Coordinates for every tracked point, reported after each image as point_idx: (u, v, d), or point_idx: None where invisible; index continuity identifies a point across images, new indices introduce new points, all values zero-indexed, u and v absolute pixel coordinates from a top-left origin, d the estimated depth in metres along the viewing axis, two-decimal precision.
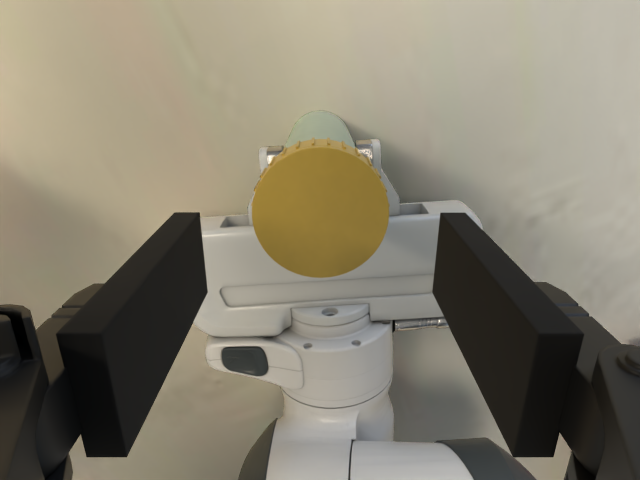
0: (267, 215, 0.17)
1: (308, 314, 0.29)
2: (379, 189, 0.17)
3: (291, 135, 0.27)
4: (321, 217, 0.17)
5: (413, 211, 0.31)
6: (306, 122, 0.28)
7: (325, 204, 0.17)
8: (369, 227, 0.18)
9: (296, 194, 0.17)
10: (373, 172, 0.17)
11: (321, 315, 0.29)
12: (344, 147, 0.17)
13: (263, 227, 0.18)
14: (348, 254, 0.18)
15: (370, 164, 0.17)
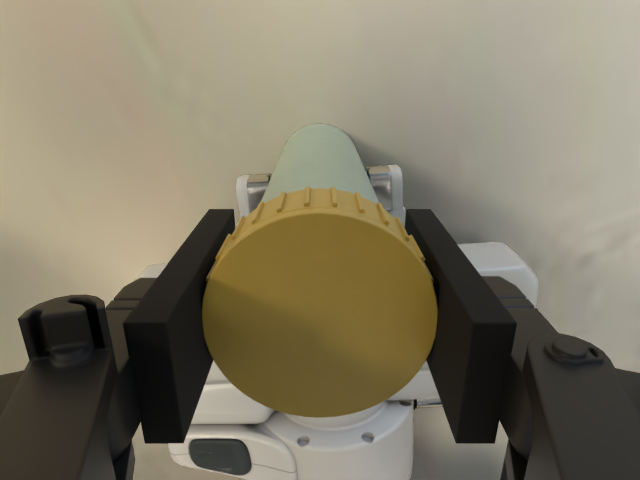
0: (228, 324, 0.10)
1: None
2: (422, 282, 0.10)
3: (280, 161, 0.20)
4: (321, 327, 0.10)
5: None
6: (301, 142, 0.21)
7: (328, 306, 0.10)
8: (403, 342, 0.10)
9: (277, 291, 0.10)
10: (413, 255, 0.10)
11: None
12: (361, 209, 0.10)
13: (222, 342, 0.10)
14: (366, 384, 0.11)
15: (406, 238, 0.10)
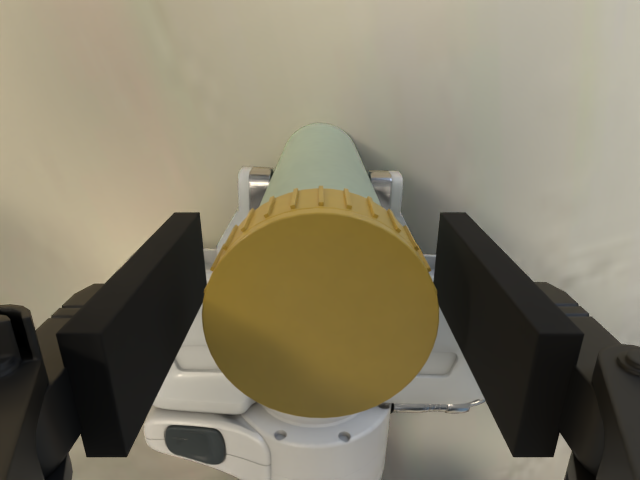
0: (309, 398, 0.11)
1: None
2: (281, 227, 0.09)
3: (284, 156, 0.20)
4: (322, 324, 0.10)
5: (432, 266, 0.24)
6: (306, 140, 0.21)
7: (300, 316, 0.10)
8: (352, 249, 0.09)
9: (278, 356, 0.10)
10: (248, 235, 0.09)
11: None
12: (212, 268, 0.10)
13: (329, 406, 0.11)
14: (400, 288, 0.10)
15: (242, 230, 0.10)
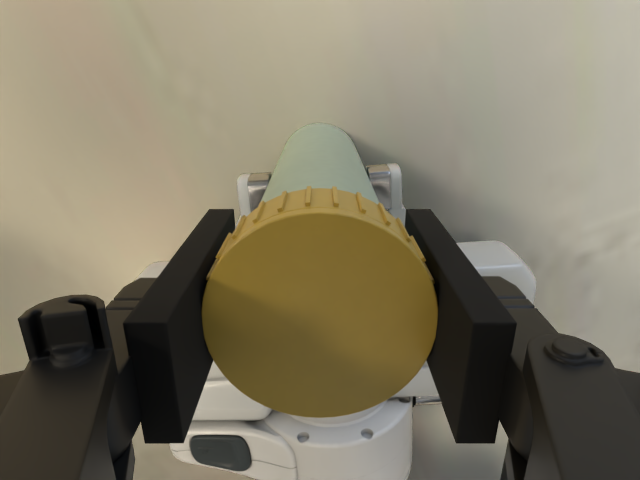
0: (317, 398, 0.11)
1: None
2: (269, 231, 0.09)
3: (280, 160, 0.20)
4: (321, 324, 0.10)
5: None
6: (301, 141, 0.21)
7: (298, 317, 0.10)
8: (342, 246, 0.09)
9: (281, 359, 0.10)
10: (238, 242, 0.09)
11: None
12: (208, 277, 0.10)
13: (337, 404, 0.11)
14: (395, 281, 0.10)
15: (233, 237, 0.10)
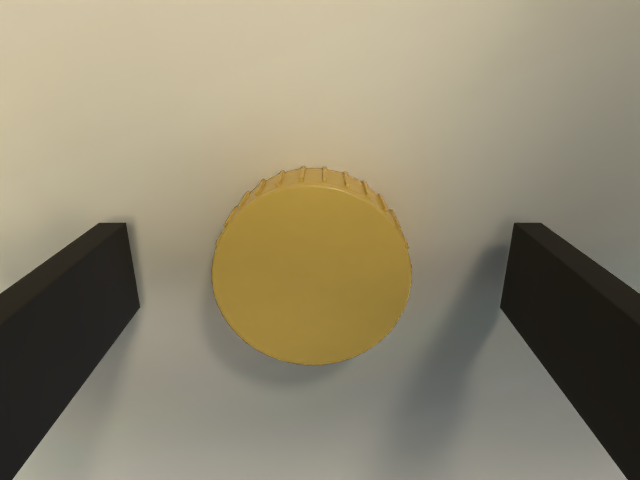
0: (309, 347, 0.13)
1: None
2: (269, 201, 0.11)
3: None
4: (313, 281, 0.12)
5: None
6: None
7: (293, 276, 0.12)
8: (329, 214, 0.11)
9: (279, 312, 0.12)
10: (243, 210, 0.11)
11: None
12: (217, 242, 0.12)
13: (327, 353, 0.13)
14: (374, 244, 0.12)
15: (238, 208, 0.12)
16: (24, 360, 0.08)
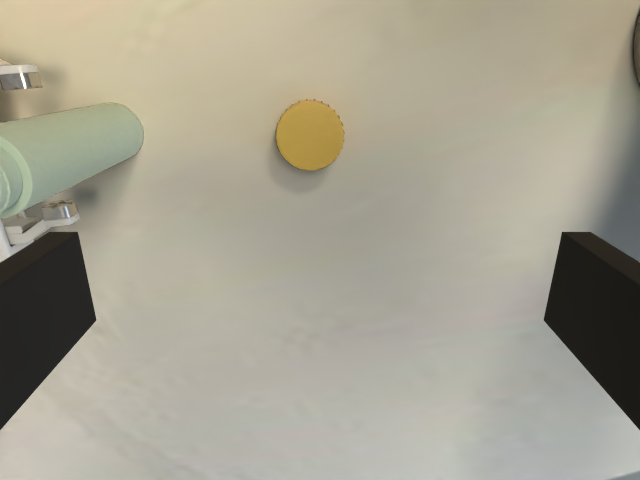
0: (309, 162, 0.36)
1: None
2: (296, 107, 0.35)
3: (89, 120, 0.30)
4: (310, 136, 0.35)
5: None
6: (109, 130, 0.31)
7: (303, 134, 0.35)
8: (315, 112, 0.35)
9: (298, 148, 0.36)
10: (287, 110, 0.35)
11: None
12: (277, 124, 0.36)
13: (315, 165, 0.36)
14: (330, 122, 0.35)
15: (285, 111, 0.35)
16: None
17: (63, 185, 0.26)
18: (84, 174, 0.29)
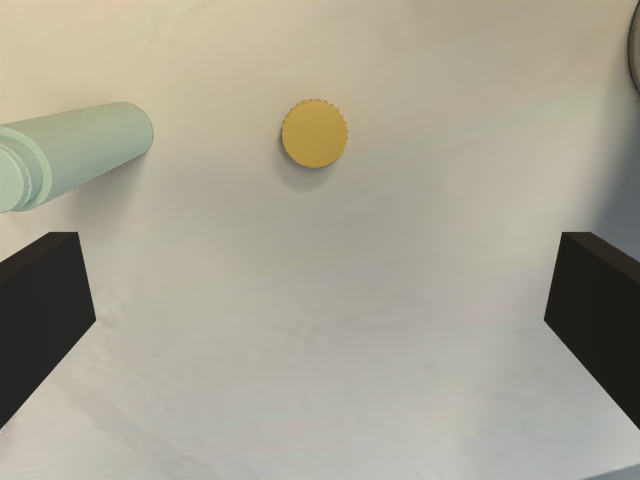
0: (313, 160, 0.37)
1: None
2: (301, 106, 0.36)
3: (103, 118, 0.31)
4: (314, 135, 0.37)
5: None
6: (121, 129, 0.33)
7: (308, 133, 0.37)
8: (320, 111, 0.36)
9: (303, 146, 0.37)
10: (293, 110, 0.36)
11: None
12: (283, 123, 0.37)
13: (319, 162, 0.37)
14: (334, 121, 0.36)
15: (290, 110, 0.36)
16: None
17: (79, 180, 0.28)
18: (98, 170, 0.30)
